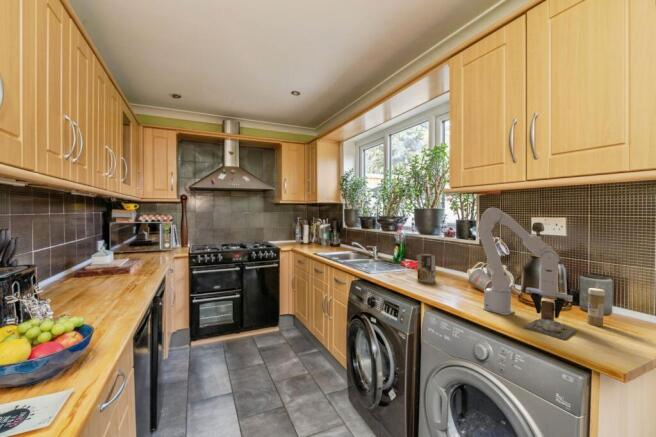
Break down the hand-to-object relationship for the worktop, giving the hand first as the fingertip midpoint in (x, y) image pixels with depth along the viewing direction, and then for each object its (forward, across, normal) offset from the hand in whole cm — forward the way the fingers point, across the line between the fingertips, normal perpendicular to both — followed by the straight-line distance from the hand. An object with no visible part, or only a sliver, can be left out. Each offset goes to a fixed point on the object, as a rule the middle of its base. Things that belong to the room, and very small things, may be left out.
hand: (547, 315), depth 112 cm
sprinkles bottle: (+2, -12, -10) cm, 16 cm away
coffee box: (+2, +66, -15) cm, 68 cm away
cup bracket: (+2, -4, +11) cm, 12 cm away
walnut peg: (+2, 0, 0) cm, 2 cm away
